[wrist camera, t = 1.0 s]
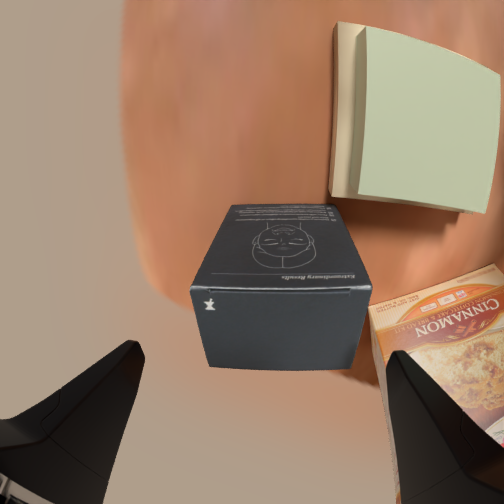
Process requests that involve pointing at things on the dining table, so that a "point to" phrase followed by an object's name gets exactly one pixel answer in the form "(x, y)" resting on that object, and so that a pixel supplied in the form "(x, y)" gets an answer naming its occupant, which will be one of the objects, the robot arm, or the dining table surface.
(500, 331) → the coffeecake box
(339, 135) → the lower slab
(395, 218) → the dining table surface
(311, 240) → the box
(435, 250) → the dining table surface
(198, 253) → the dining table surface
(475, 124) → the upper slab
